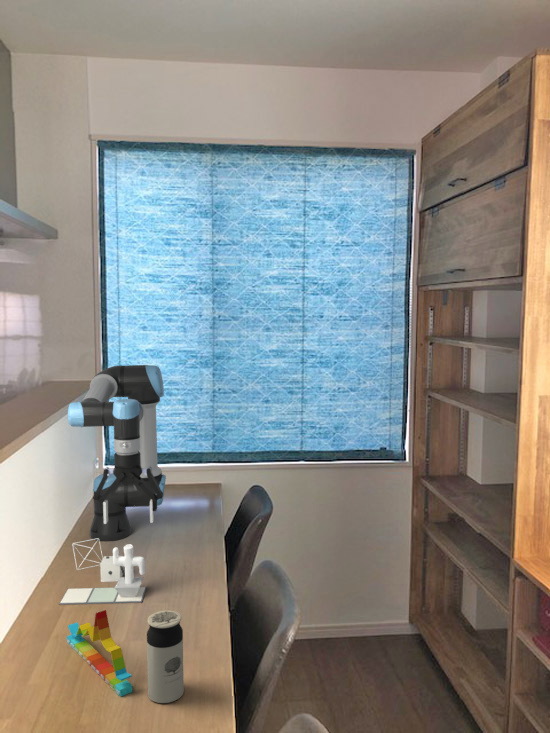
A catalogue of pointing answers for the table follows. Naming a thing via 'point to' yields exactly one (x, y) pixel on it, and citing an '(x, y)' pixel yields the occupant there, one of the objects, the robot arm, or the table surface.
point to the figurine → (128, 572)
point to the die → (110, 570)
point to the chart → (105, 670)
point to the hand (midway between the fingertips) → (129, 521)
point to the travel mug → (165, 657)
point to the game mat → (98, 596)
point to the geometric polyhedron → (87, 554)
